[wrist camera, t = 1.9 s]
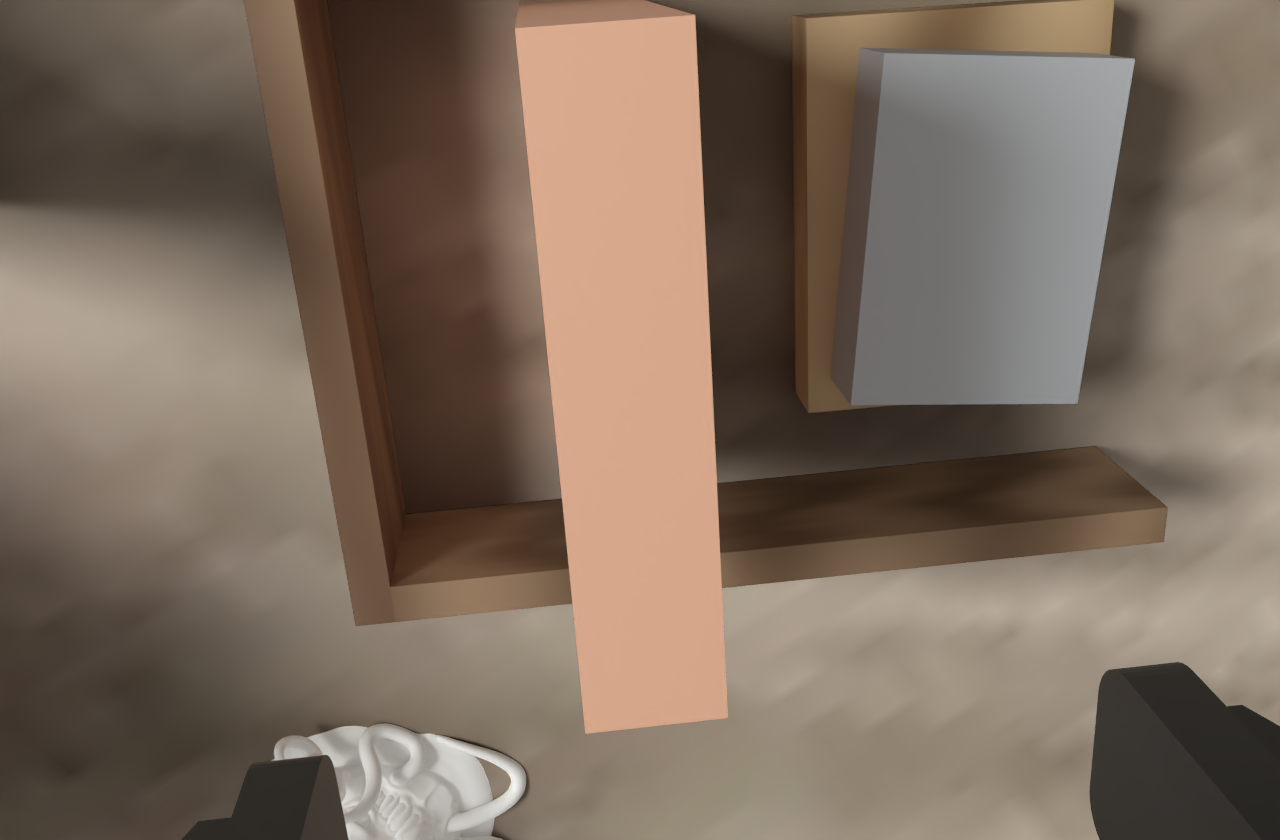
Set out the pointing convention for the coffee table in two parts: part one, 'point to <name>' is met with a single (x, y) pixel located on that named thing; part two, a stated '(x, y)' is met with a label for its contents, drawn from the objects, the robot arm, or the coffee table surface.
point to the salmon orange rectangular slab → (628, 349)
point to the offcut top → (975, 224)
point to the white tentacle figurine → (410, 782)
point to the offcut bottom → (823, 121)
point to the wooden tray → (535, 531)
